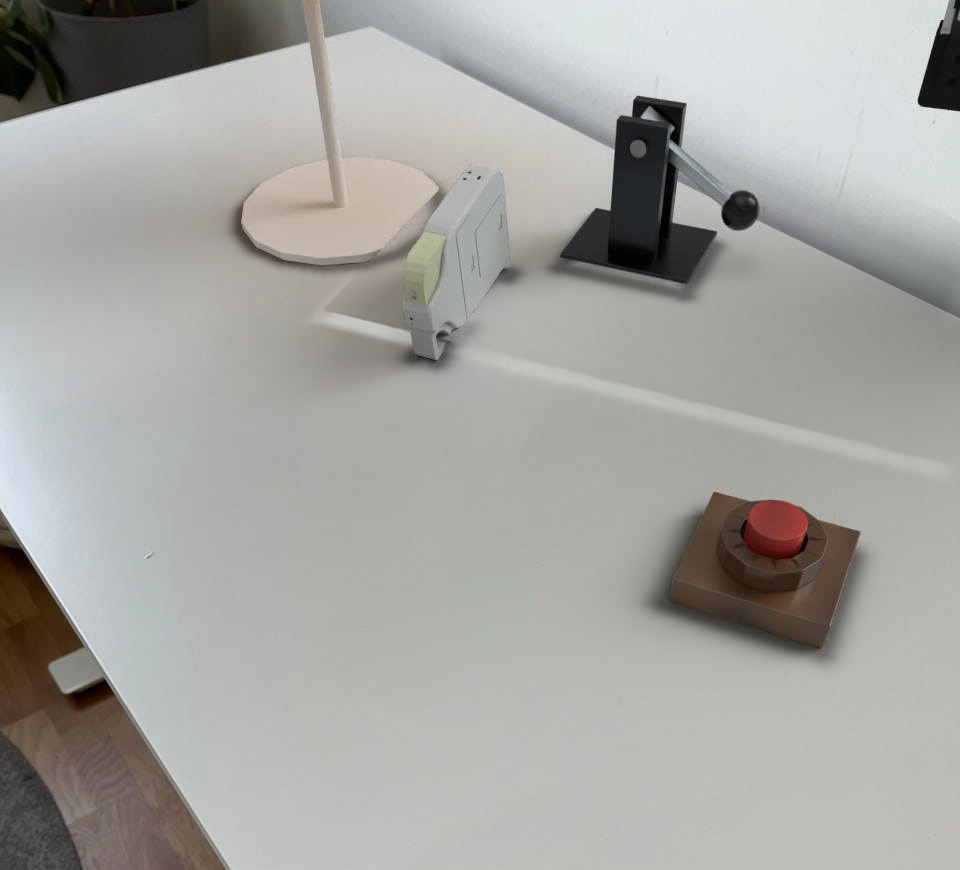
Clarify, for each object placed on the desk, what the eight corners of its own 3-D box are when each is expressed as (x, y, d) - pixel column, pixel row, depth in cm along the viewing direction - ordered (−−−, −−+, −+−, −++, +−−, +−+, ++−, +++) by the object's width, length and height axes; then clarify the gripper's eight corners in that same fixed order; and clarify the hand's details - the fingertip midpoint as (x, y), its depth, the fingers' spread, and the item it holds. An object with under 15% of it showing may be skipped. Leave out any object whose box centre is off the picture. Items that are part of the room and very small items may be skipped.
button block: (852, 554, 67) (868, 511, 63) (822, 649, 62) (837, 608, 58) (709, 513, 69) (717, 470, 66) (668, 602, 64) (676, 559, 61)
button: (807, 528, 63) (814, 508, 62) (794, 566, 61) (800, 546, 60) (752, 513, 64) (757, 493, 63) (737, 550, 62) (742, 530, 61)
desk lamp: (295, 333, 85) (204, -105, 61) (141, 207, 100) (18, -185, 76) (552, 215, 96) (561, -196, 72) (378, 117, 111) (337, -250, 87)
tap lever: (747, 227, 86) (771, 200, 84) (737, 245, 85) (761, 218, 82) (632, 129, 85) (654, 98, 82) (620, 145, 83) (641, 114, 80)
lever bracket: (715, 244, 92) (738, 99, 82) (685, 294, 87) (706, 146, 77) (594, 220, 95) (603, 79, 85) (559, 266, 90) (564, 122, 80)
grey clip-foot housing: (412, 375, 84) (485, 266, 91) (442, 383, 83) (512, 272, 90) (390, 265, 75) (472, 152, 81) (423, 273, 74) (503, 158, 80)
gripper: (1169, -298, 38) (999, 173, 52) (1178, -365, 46) (1028, 59, 60) (964, -300, 40) (854, 153, 54) (1007, -363, 48) (902, 45, 63)
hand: (946, 102), depth 57 cm, fingers closed
